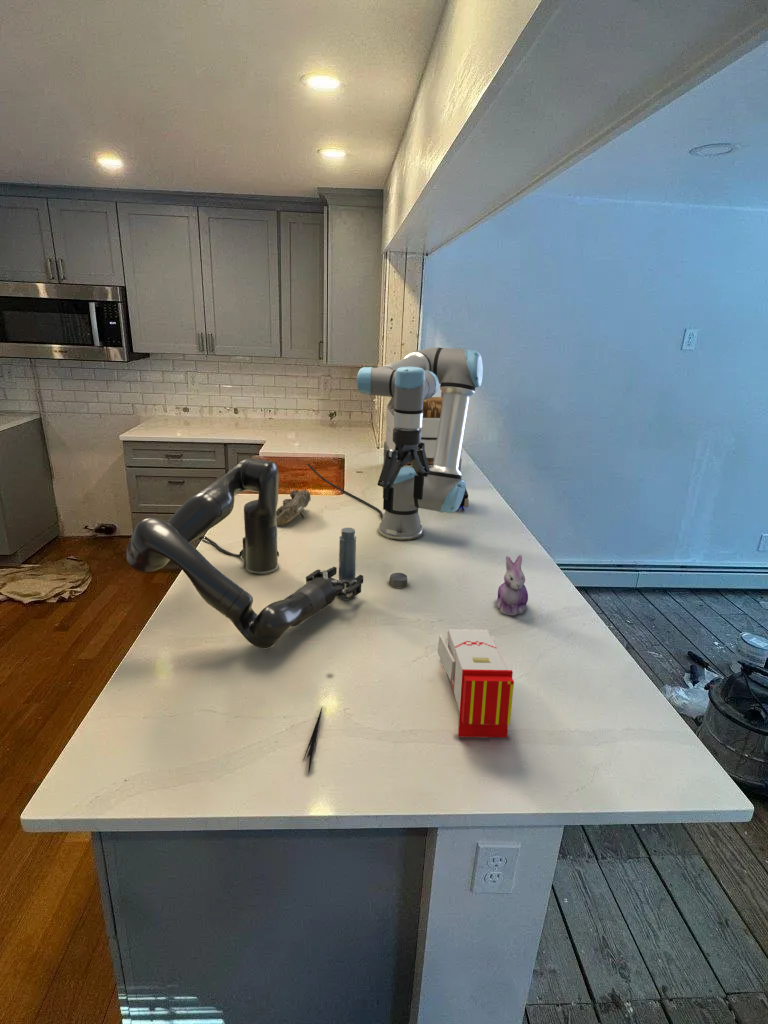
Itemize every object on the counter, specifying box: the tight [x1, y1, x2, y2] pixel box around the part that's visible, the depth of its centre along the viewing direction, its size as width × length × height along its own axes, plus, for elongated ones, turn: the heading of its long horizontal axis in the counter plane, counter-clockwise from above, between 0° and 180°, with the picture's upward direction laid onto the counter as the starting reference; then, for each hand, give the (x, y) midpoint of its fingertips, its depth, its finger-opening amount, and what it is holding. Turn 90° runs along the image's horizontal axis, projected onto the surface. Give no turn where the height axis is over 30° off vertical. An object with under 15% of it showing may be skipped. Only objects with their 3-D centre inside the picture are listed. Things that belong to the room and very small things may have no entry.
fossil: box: [277, 489, 311, 526], centre depth 209 cm, size 22×10×15 cm
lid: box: [388, 572, 408, 589], centre depth 163 cm, size 5×5×2 cm
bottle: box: [338, 527, 357, 601], centre depth 152 cm, size 4×4×19 cm
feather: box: [301, 673, 332, 771], centre depth 108 cm, size 2×28×2 cm
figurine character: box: [458, 486, 470, 512], centre depth 229 cm, size 7×8×15 cm
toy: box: [437, 628, 515, 738], centre depth 117 cm, size 12×13×30 cm
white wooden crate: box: [383, 391, 464, 474], centre depth 268 cm, size 34×33×41 cm
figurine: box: [496, 554, 529, 616], centre depth 150 cm, size 9×10×15 cm
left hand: (348, 574), depth 154 cm, fingers open, 8 cm apart
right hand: (403, 504), depth 156 cm, fingers open, 13 cm apart
